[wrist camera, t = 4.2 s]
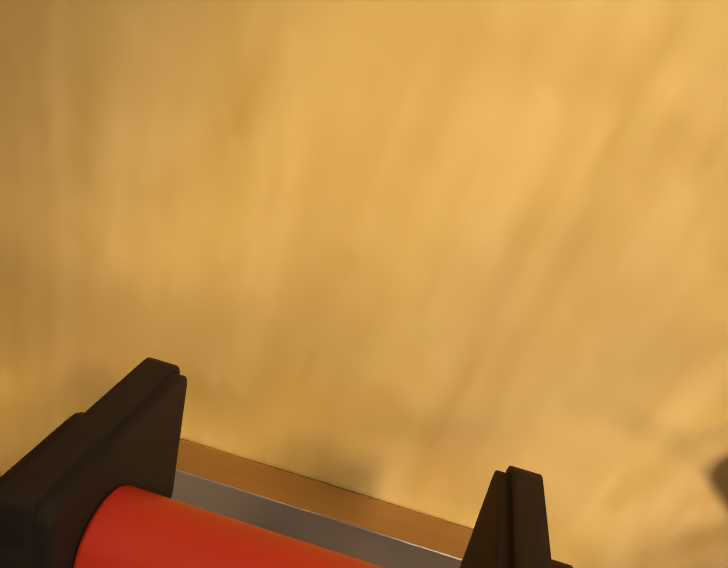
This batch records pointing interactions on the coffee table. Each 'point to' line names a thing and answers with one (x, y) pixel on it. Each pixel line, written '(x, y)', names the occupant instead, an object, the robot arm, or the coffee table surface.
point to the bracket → (315, 511)
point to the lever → (189, 538)
